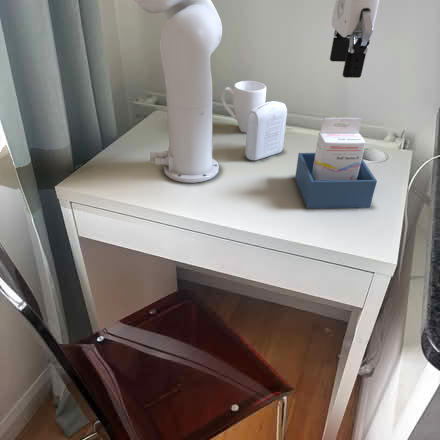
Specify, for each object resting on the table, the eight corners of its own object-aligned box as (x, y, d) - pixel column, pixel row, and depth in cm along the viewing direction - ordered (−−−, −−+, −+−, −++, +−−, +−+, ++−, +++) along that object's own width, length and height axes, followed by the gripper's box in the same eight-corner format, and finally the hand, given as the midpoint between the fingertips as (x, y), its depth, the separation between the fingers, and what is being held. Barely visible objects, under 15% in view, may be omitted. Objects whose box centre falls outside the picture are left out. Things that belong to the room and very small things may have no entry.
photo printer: (273, 146, 115) (278, 95, 107) (285, 152, 113) (291, 101, 105) (242, 156, 111) (245, 104, 102) (254, 163, 108) (257, 110, 100)
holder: (307, 208, 93) (311, 182, 89) (295, 178, 103) (298, 152, 99) (369, 207, 94) (377, 181, 90) (352, 177, 104) (357, 152, 100)
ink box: (313, 195, 96) (326, 126, 86) (309, 184, 100) (320, 116, 90) (354, 195, 96) (370, 126, 86) (348, 184, 100) (363, 116, 90)
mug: (267, 127, 124) (271, 83, 117) (256, 138, 119) (259, 93, 111) (227, 119, 128) (228, 76, 120) (215, 130, 122) (215, 85, 115)
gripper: (331, -53, 79) (314, 55, 90) (359, -41, 66) (335, 83, 77) (374, -52, 79) (351, 56, 91) (409, -39, 66) (378, 84, 78)
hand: (344, 68), depth 84 cm, fingers open, 9 cm apart
